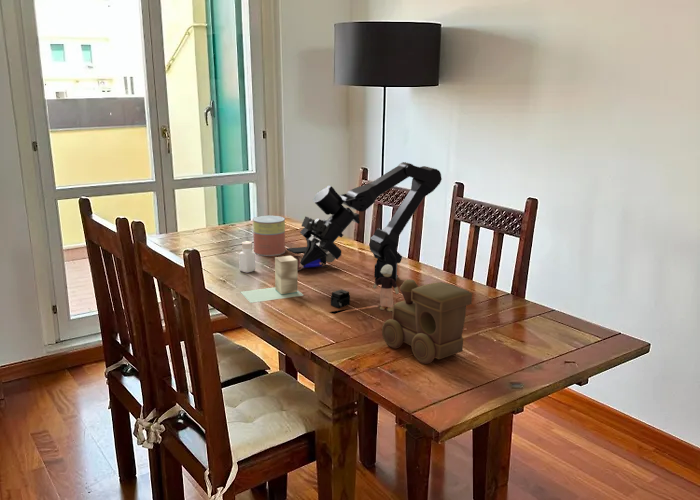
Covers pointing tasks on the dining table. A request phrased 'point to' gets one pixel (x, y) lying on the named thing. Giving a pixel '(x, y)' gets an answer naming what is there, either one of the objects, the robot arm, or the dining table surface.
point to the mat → (266, 295)
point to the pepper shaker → (247, 258)
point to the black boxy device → (340, 300)
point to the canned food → (269, 235)
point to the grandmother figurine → (386, 288)
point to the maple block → (286, 275)
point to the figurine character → (312, 264)
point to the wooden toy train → (428, 320)
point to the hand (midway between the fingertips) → (301, 264)
